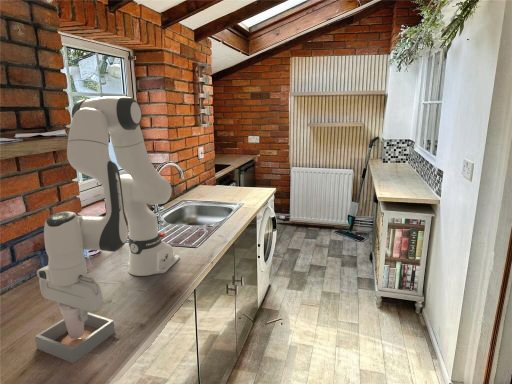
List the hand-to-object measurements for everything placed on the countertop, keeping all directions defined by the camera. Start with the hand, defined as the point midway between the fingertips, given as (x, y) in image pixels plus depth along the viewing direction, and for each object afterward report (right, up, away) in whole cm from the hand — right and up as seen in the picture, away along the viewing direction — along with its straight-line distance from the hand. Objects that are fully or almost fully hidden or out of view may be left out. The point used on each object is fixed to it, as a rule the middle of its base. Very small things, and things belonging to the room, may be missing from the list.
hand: (74, 317), depth 97 cm
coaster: (0, -7, +2) cm, 7 cm away
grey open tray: (0, -7, +2) cm, 7 cm away
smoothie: (0, -6, +1) cm, 6 cm away
